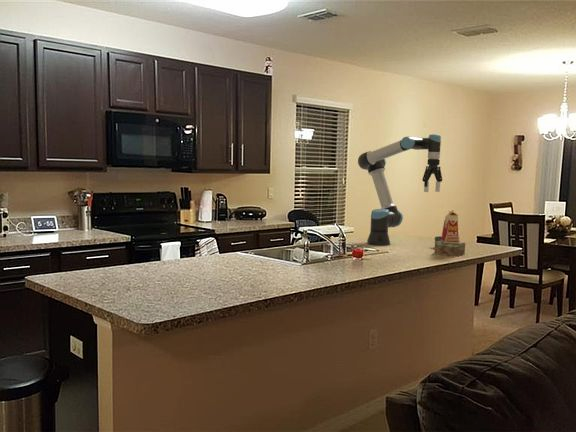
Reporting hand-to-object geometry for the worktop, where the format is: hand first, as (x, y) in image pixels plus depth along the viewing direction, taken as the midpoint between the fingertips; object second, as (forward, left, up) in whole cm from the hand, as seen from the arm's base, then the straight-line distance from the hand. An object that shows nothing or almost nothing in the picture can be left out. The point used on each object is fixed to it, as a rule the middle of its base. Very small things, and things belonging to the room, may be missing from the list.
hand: (431, 191), depth 341 cm
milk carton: (+20, -9, -30) cm, 37 cm away
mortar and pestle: (+5, +9, -37) cm, 38 cm away
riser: (+20, -9, -37) cm, 43 cm away
